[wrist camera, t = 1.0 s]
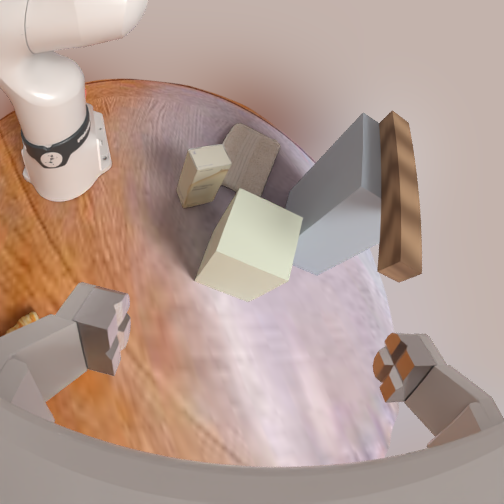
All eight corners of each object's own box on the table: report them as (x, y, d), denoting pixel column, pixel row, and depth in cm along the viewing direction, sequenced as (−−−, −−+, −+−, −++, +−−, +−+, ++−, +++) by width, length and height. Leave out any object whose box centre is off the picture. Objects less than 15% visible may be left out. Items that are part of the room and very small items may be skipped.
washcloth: (278, 147, 67) (283, 139, 64) (257, 206, 59) (263, 198, 56) (232, 125, 65) (236, 116, 62) (203, 181, 57) (206, 172, 54)
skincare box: (182, 209, 53) (195, 171, 42) (175, 189, 53) (186, 148, 43) (214, 201, 55) (233, 164, 45) (205, 182, 56) (223, 142, 46)
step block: (248, 302, 51) (288, 280, 38) (194, 281, 49) (216, 251, 36) (263, 252, 55) (302, 217, 42) (213, 230, 53) (239, 187, 40)
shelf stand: (316, 275, 58) (416, 222, 35) (272, 256, 56) (361, 186, 33) (328, 211, 65) (408, 145, 42) (289, 191, 63) (363, 112, 40)
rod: (398, 282, 30) (421, 273, 27) (377, 271, 30) (400, 261, 26) (395, 134, 42) (408, 123, 38) (379, 123, 41) (392, 110, 38)
